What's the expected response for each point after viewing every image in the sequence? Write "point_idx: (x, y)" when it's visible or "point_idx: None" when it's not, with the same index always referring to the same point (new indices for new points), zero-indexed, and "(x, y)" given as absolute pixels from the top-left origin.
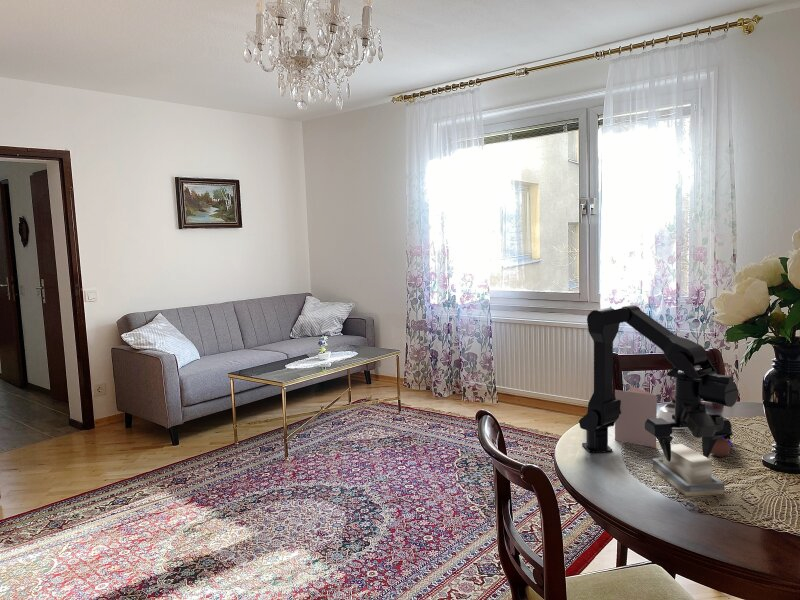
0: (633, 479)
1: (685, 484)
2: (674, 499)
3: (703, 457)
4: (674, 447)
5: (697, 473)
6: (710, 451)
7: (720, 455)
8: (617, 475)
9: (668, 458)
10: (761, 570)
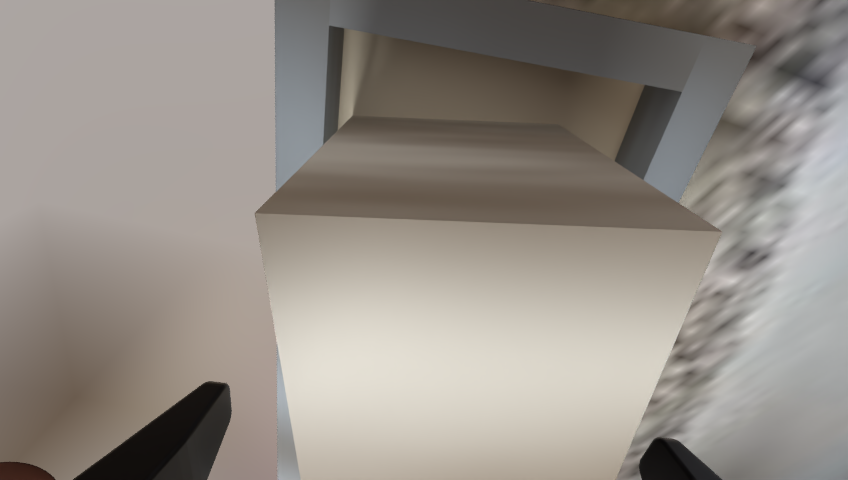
0: (740, 382)
1: (726, 84)
2: (826, 23)
3: (335, 353)
4: None
5: (539, 157)
6: (102, 465)
7: (23, 468)
8: (768, 439)
9: (711, 473)
10: None
